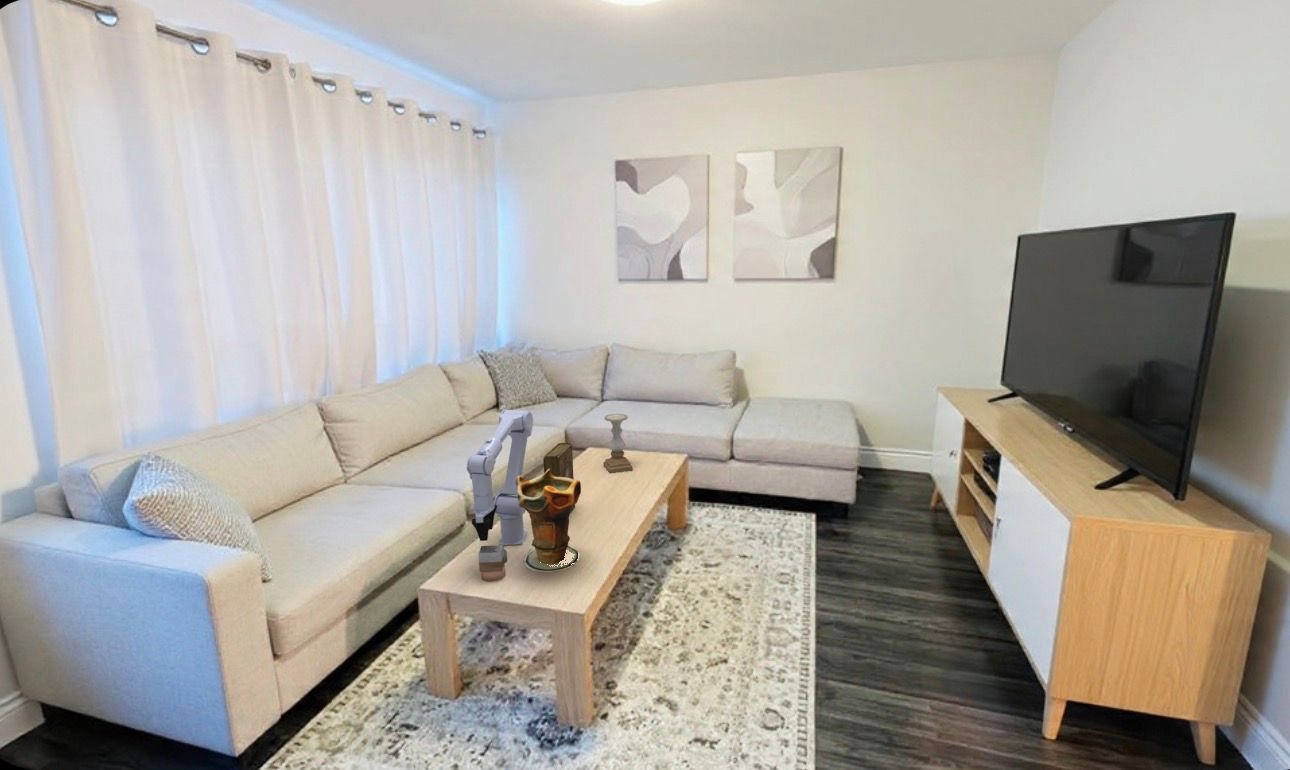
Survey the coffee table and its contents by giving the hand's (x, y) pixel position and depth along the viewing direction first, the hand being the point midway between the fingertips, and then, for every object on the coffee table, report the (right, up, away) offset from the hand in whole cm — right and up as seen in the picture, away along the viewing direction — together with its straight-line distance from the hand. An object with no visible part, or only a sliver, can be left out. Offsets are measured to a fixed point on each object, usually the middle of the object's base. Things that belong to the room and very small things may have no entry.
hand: (486, 534), depth 185 cm
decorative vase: (+20, -9, +4) cm, 22 cm away
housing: (+3, -8, -6) cm, 11 cm away
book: (+18, -2, +36) cm, 41 cm away
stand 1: (+4, -11, -6) cm, 13 cm away
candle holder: (+37, +9, +84) cm, 92 cm away
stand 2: (+2, -9, +3) cm, 10 cm away
